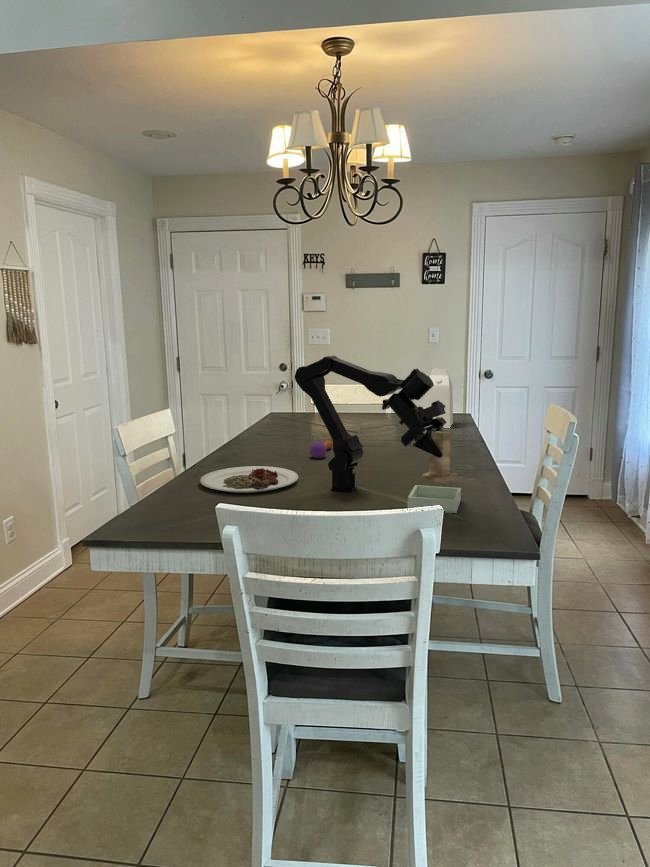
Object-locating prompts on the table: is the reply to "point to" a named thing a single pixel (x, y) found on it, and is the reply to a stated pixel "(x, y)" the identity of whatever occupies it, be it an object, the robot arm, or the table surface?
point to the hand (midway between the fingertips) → (444, 455)
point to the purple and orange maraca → (320, 449)
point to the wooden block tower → (440, 460)
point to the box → (435, 497)
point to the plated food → (249, 479)
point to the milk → (441, 394)
